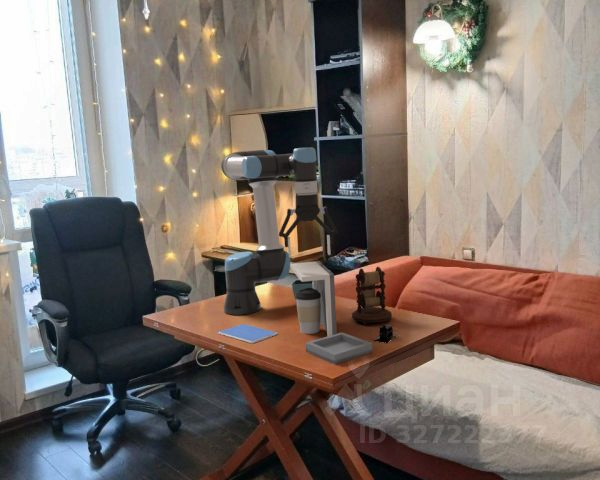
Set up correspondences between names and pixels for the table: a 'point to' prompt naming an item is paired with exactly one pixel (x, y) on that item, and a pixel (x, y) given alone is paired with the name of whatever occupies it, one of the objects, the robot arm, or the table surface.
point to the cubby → (320, 290)
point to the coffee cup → (309, 310)
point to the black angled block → (385, 334)
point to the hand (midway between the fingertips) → (309, 255)
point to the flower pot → (301, 286)
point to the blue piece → (248, 333)
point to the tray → (338, 348)
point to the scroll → (371, 297)
